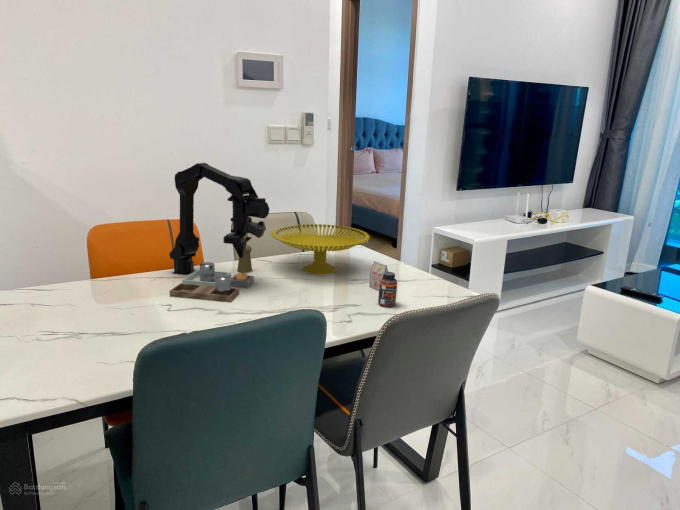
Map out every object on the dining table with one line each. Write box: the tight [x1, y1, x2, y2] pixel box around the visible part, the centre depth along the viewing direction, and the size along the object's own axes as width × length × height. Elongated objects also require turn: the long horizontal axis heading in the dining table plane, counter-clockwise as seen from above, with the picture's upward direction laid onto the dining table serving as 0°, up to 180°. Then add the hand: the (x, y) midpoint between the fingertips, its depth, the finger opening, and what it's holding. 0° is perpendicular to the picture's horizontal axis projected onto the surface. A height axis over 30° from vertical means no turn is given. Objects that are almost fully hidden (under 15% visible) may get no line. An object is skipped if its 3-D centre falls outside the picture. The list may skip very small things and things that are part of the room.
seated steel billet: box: [215, 275, 232, 296], centre depth 172 cm, size 5×5×7 cm
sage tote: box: [181, 269, 232, 286], centre depth 187 cm, size 13×13×3 cm
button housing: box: [231, 273, 255, 289], centre depth 186 cm, size 7×7×4 cm
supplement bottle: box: [377, 271, 398, 308], centre depth 173 cm, size 6×6×11 cm
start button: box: [236, 272, 248, 281], centre depth 185 cm, size 4×4×3 cm
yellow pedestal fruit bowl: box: [270, 223, 371, 275], centre depth 210 cm, size 40×40×15 cm
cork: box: [236, 244, 253, 274], centre depth 203 cm, size 6×6×11 cm
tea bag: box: [368, 260, 389, 292], centre depth 189 cm, size 4×7×10 cm, turn 36°
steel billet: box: [199, 262, 216, 282], centre depth 187 cm, size 5×5×7 cm
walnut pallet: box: [169, 283, 240, 303], centre depth 173 cm, size 21×8×3 cm, turn 81°
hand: (241, 257), depth 183 cm, fingers closed
